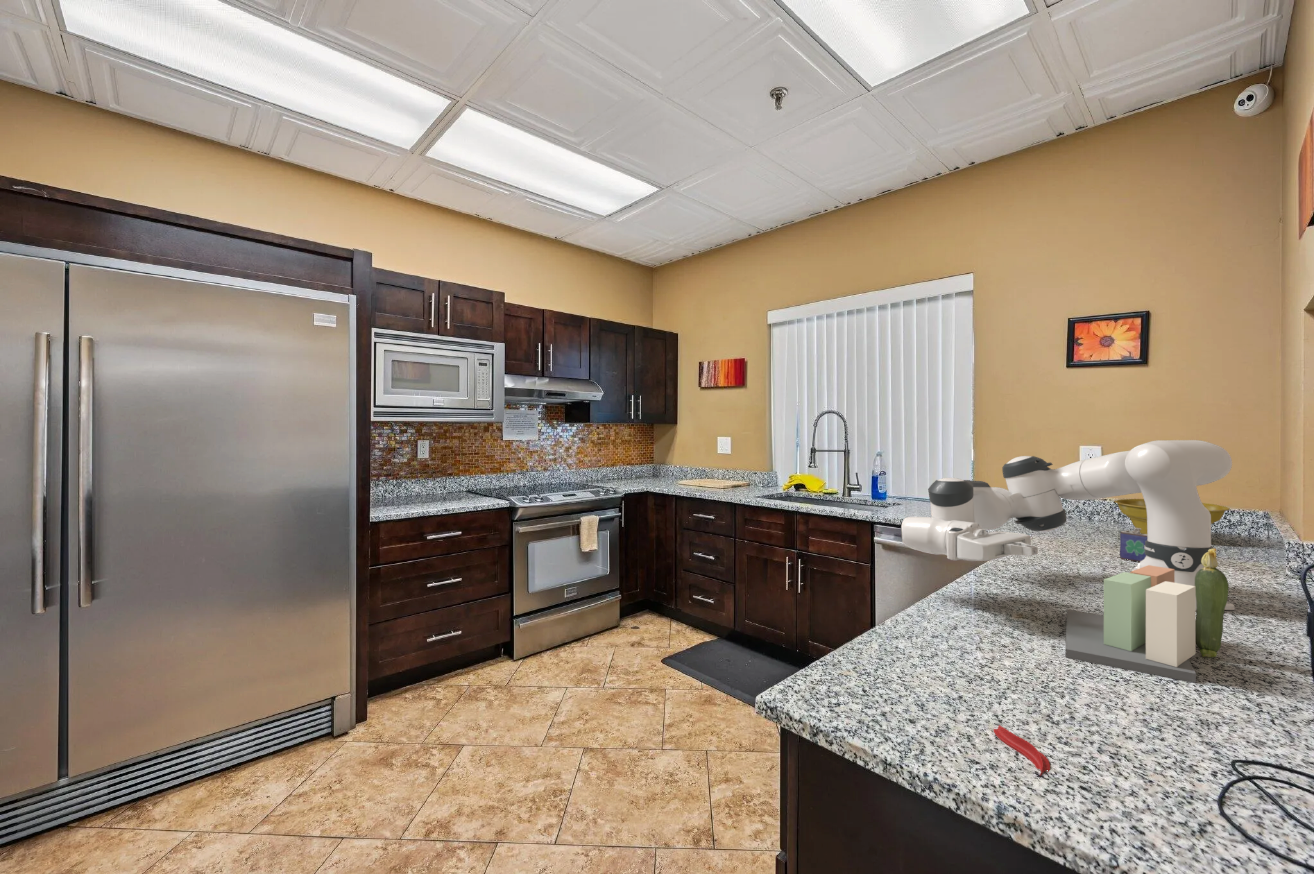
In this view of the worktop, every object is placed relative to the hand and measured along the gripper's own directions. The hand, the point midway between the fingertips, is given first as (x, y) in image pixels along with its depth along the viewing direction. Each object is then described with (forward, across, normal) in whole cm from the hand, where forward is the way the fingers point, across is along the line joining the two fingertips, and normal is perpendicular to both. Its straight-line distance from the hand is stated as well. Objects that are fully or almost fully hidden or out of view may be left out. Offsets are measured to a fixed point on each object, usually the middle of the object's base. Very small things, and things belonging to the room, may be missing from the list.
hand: (1034, 551), depth 115 cm
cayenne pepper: (+20, +51, -16) cm, 57 cm away
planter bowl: (-17, -151, -17) cm, 152 cm away
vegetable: (+25, -9, -16) cm, 31 cm away
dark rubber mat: (+14, -3, -16) cm, 21 cm away
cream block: (+22, +2, -14) cm, 26 cm away
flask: (-10, -92, -16) cm, 94 cm away
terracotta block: (+16, -11, -14) cm, 24 cm away
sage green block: (+15, 0, -14) cm, 21 cm away
